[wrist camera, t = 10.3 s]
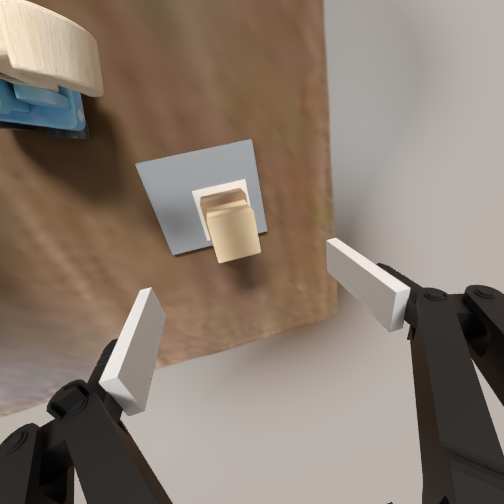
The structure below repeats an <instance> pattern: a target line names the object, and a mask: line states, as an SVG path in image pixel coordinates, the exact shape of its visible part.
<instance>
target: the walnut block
mask: <svg viewBox="0 0 504 504" xmlns="http://www.w3.org/2000/svg"><path fill="white" fill-rule="evenodd" d="M240 200H245V201H246V202H247V198H246V193H245V192H244V191H243V190H242V189H241V188H236V189H232V190H228V191H224V192H219V193H215V194H211V195H207V196H202V197H201V198H200V207H201V210H202V213H203V217H204V220H205V223H206V226H207V230H208V233H209V236H210V239H211V243H212V246H214V245H213V242H212V238H211V235H210V231H209V228H208V224H207V208H209V207H214V206H218V205H222V204H227V203H231V202H236V201H240Z"/></svg>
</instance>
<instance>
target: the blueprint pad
mask: <svg viewBox="0 0 504 504" xmlns="http://www.w3.org/2000/svg"><path fill="white" fill-rule="evenodd" d="M135 165H136V168H137V170H138V172H139V175H140V177H141V180H142V182H143V185H144V187H145V189H146V192H147V194H148V197H149V199H150V201H151V204H152V206H153V209H154V211H155V214H156V216H157V218H158V221H159V223H160V226H161V228H162V230H163V233H164V235H165V238H166V240H167V243H168V245H169V247H170V250H171V252H172V255H176V254H180V253H184V252H188V251H192V250H196V249H199V248H203V247H207V246H211V245H212V243H211V239H210V236H209V233H208V230H207V226H206V223H205V220H204V217H203V213H202V210H201V207H200V198H201V197H202V196H207V195H211V194H215V193H219V192H224V191H228V190H232V189H236V188H241V189H242V190H243V191H244V192H245V193H246V198H247V203H248V205H249V206H250V207H251V208H252V210H253V211H254V216H255V221H256V227H257V233H262V232H266V231H267V227H266V221H265V215H264V209H263V203H262V197H261V191H260V185H259V179H258V173H257V167H256V161H255V155H254V149H253V144H252V139H249V140H244V141H240V142H235V143H230V144H226V145H221V146H216V147H212V148H207V149H202V150H198V151H193V152H188V153H184V154H179V155H174V156H170V157H165V158H160V159H155V160H151V161H146V162H141V163H137V164H135Z"/></svg>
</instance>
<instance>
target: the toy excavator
mask: <svg viewBox="0 0 504 504" xmlns="http://www.w3.org/2000/svg"><path fill="white" fill-rule="evenodd" d="M80 93H83V94H85V95H88V96H90V97H100V96H102V95H103V93H104V91H103V83H102V75H101V68H100V60H99V53H98V46H97V42H96V40H95V39H94V37H93V36H92V35H91V34H90V33H89V32H87V31H86V30H85V29H83V28H82V27H80V26H79V25H77V24H76V23H74V22H72V21H71V20H69V19H67V18H65V17H63V16H61V15H59V14H57V13H55V12H53V11H51V10H48V9H46V8H44V7H41V6H39V5H36V4H34V3H31V2H28V1H25V0H0V129H1V128H4V129H5V128H6V129H13V130H23V131H36V127H35V126H43V127H44V131H45V134H46V135H47V136H54V137H64V138H74V139H85V140H90V135H89V129H88V123H87V121H86V120H85V117H84V111H83V105H82V100H81V94H80Z"/></svg>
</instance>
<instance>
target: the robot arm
mask: <svg viewBox="0 0 504 504" xmlns="http://www.w3.org/2000/svg"><path fill="white" fill-rule="evenodd" d="M326 247H327V271H328V272H329V273H330V274H331V275H332V276H333V277H334V278H335V279H336V280H337V281H338V282H339V283H341V284H342V286H343V287H344V288H345V289H346V290H347V291H348V292H350V294H352V295H353V296H354V297H355V298H356V299H357V300H358V301H359V302H360V303H361V304H362V305H363V306H364V307H365V308H366V309H367V310H368V311H369V312H370V313H371V314H372V315H373V316H374V317H375V318H376V319H377V320H378V321H379V322H380V323H381V324H382V325H383V326H384V327H385V328H386V329H387V330H388V331H389V332H392V331H395V330H398V329H401V328H403V323H404V320H405V321H406V322H407V323H408V324H410V328H409V333H408V337H407V340H410V344H411V354H412V365H413V375H414V386H415V397H416V408H417V419H418V430H419V440H420V451H421V462H422V473H423V492H422V504H504V455H503V452H502V449H501V446H500V443H499V440H498V437H497V434H496V431H495V428H494V425H493V422H492V419H491V417H490V413H489V410H488V407H487V404H486V401H485V399H484V395H483V392H482V389H481V386H480V383H479V380H478V377H477V374H476V371H475V368H474V365H473V362H472V360H473V361H474V363H475V364H476V366H477V367H478V369H479V370H480V372H481V373H482V375H483V376H484V378H485V379H486V381H487V382H488V384H489V385H490V387H491V388H492V389H493V391H494V393H495V394H496V396H497V397H498V399H499V400H500V402H501V403H502V405H503V406H504V294H503V293H501V292H499V291H498V290H496V289H494V288H491V287H488V286H483V285H470V286H468V287H467V288H466V290H465V293H464V294H447V293H445V292H444V291H441V290H439V289H435V288H423V287H421V286H419V285H418V284H416V283H415V282H413V281H411V280H410V279H408V278H407V277H405V276H404V275H401V274H400V273H399V272H396V270H394V269H393V268H391V267H389V266H387V265H384V264H381V263H378V264H374V263H372V262H371V261H369V260H368V259H367V258H365V257H364V256H362V255H360V254H359V253H357V252H356V251H354V250H353V249H352V248H350V247H349V246H347V245H346V244H344V243H343V242H341V241H340V240H338V239H337V238H333V239H329V240H326ZM165 319H166V315H165V313H164V311H163V309H162V307H161V305H160V303H159V301H158V299H157V297H156V295H155V293H154V291H153V289H152V287H151V288H147V289H143V290H140V292H139V294H138V297H137V299H136V301H135V303H134V305H133V308H132V310H131V312H130V314H129V317H128V319H127V321H126V323H125V325H124V328H123V330H122V332H121V334H120V336H119V338H118V339H115V340H112V341H111V342H110V343H109V344H108V345H107V346H106V348H105V349H104V351H103V353H102V355H101V357H100V359H99V361H98V363H97V366H96V367H95V369H94V371H93V373H92V375H91V377H90V379H89V381H88V383H87V384H86V383H85V382H84V381H83V380H75V381H72V382H70V383H68V384H67V385H65V386H63V387H62V388H61V389H60V390H59V391H57V392H56V393H55V395H54V396H53V397H52V398H51V399H50V401H49V403H48V405H47V412H48V413H49V414H51V415H52V416H53V417H54V418H55V419H54V420H52V421H50V422H49V423H47V424H45V425H43V426H42V427H39V426H37V425H36V424H34V423H30V424H26V425H24V426H22V427H20V428H18V429H17V430H16V431H14V432H13V433H12V434H10V435H9V436H8V437H7V438H6V439H5V440H4V441H3V442H2V444H1V445H0V504H74V466H75V469H76V472H77V475H78V478H79V481H80V484H81V487H82V490H83V493H84V496H85V499H86V501H87V504H173V503H172V502H171V500H170V499H169V497H168V495H167V494H166V492H165V490H164V489H163V487H162V485H161V484H160V482H159V481H158V479H157V477H156V476H155V474H154V473H153V471H152V469H151V468H150V466H149V464H148V463H147V461H146V460H145V458H144V456H143V455H142V453H141V451H140V450H139V448H138V446H137V445H136V443H135V442H134V440H133V438H132V437H131V435H130V434H129V432H128V430H127V429H126V427H125V426H124V424H123V422H122V421H121V420H120V417H121V414H122V411H124V412H125V413H126V414H127V415H128V416H131V415H134V414H137V413H140V412H143V411H145V407H146V402H147V398H148V393H149V389H150V384H151V380H152V375H153V372H154V367H155V363H156V358H157V354H158V350H159V345H160V341H161V336H162V332H163V328H164V323H165ZM471 358H472V359H471ZM388 504H393V503H392V502H390V503H388Z"/></svg>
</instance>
